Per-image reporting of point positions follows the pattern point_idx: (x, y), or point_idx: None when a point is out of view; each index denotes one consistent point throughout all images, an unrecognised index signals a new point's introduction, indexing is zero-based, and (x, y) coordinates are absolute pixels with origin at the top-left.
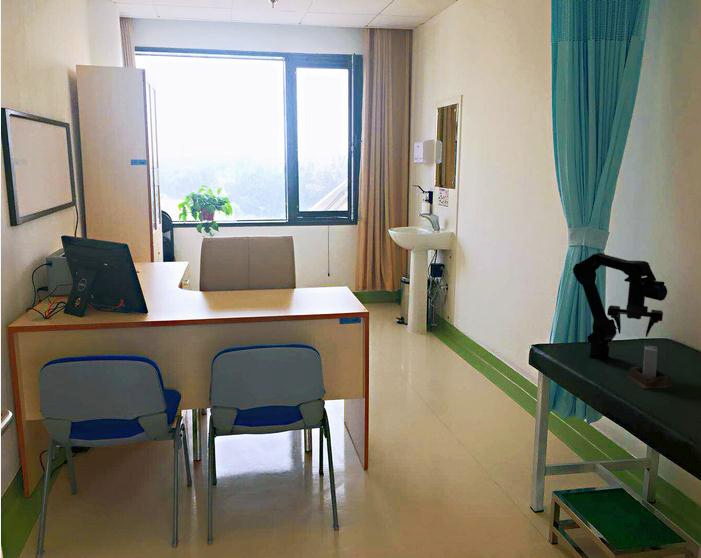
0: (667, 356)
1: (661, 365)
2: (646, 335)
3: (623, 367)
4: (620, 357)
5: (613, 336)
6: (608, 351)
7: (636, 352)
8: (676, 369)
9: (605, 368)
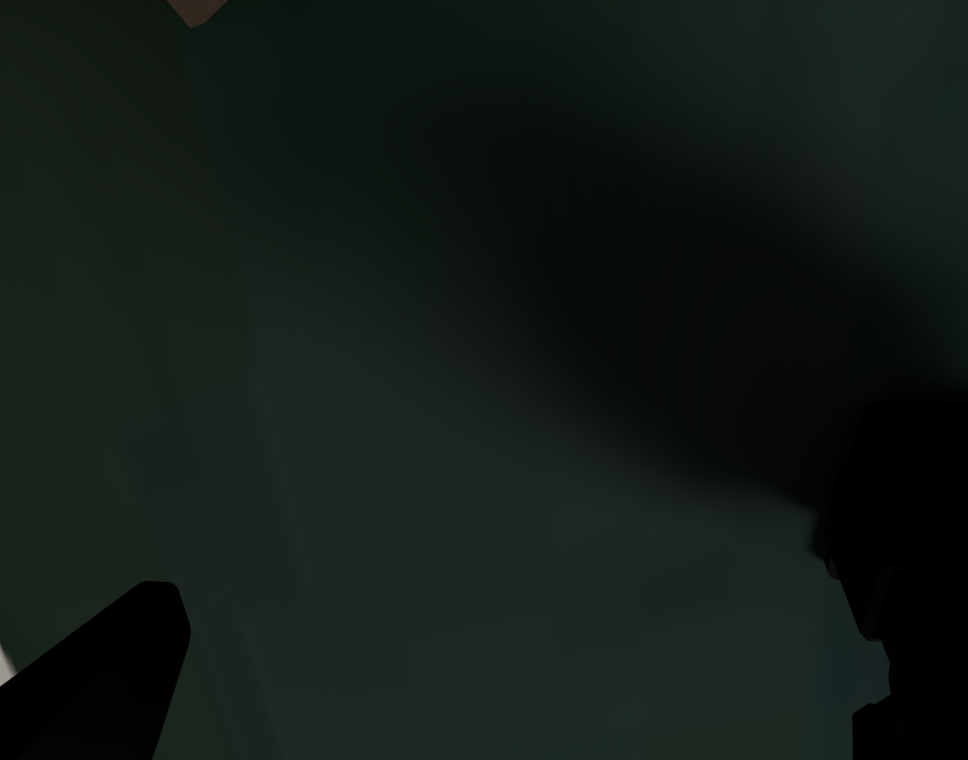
0: (241, 698)
1: (223, 461)
2: (132, 609)
3: (638, 206)
4: (675, 546)
5: (892, 747)
6: (869, 522)
7: (516, 714)
8: (54, 400)
9: (929, 24)
